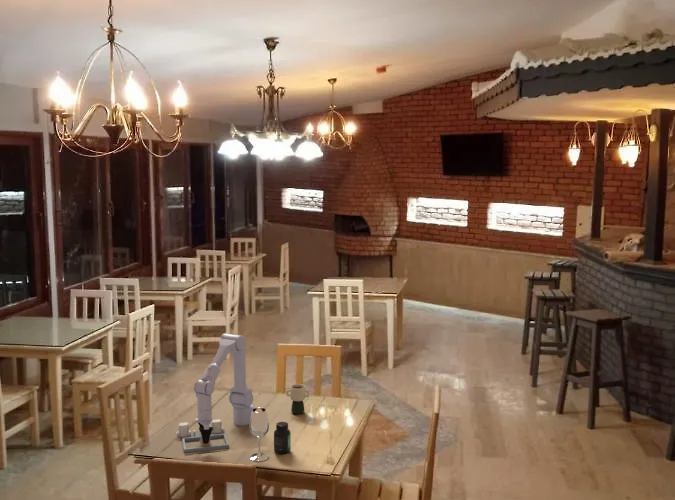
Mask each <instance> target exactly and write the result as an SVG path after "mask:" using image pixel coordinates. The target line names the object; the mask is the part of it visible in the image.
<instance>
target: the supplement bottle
mask: <svg viewBox="0 0 675 500" xmlns="http://www.w3.org/2000/svg"><path fill="white" fill-rule="evenodd" d="M275 424H276V425H275V430H274V431H273V452H274V454H276V455H279V456H284V455H288V454H290V452H291V447H292V446H291V443H292V442H291V439H292V438H291V435H292V434H291V430H290V429H289V423H288V422H287V421H278V422H277V423H275Z"/></svg>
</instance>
